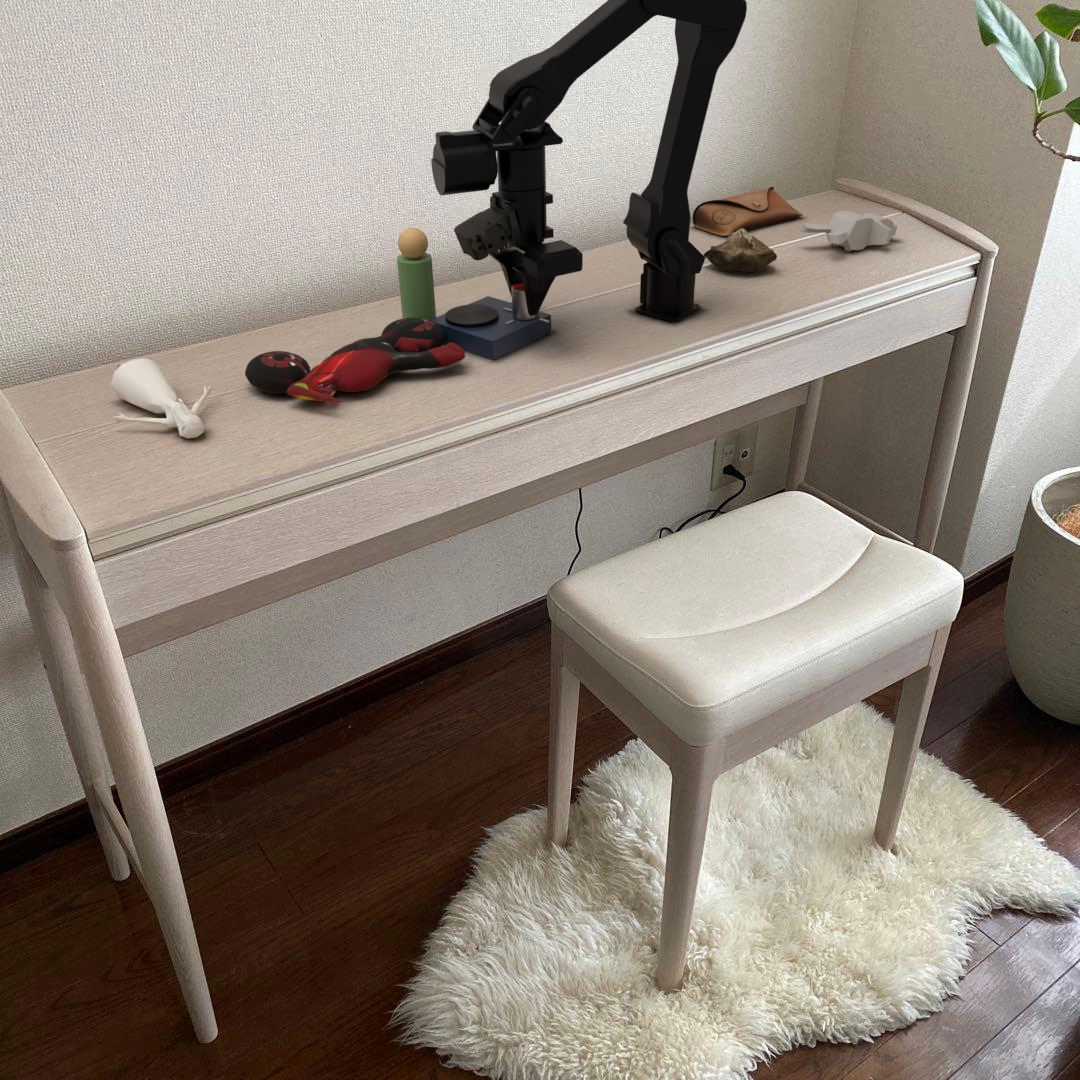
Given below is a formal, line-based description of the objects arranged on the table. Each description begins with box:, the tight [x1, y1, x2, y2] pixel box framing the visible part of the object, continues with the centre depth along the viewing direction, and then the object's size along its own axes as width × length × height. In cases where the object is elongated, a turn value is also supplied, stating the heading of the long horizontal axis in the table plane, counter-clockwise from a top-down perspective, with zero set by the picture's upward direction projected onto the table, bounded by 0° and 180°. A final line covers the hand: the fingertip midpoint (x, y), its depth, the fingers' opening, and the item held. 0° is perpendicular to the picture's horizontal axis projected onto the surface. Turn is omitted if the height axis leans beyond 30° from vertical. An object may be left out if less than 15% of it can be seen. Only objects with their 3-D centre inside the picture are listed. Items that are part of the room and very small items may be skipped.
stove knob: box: [511, 282, 539, 320], centre depth 134 cm, size 3×3×4 cm
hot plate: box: [431, 295, 552, 361], centre depth 136 cm, size 12×12×3 cm
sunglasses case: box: [692, 186, 804, 237], centre depth 174 cm, size 18×7×7 cm
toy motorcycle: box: [244, 317, 467, 403], centre depth 125 cm, size 25×5×16 cm
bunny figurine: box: [799, 210, 898, 252], centre depth 162 cm, size 10×5×15 cm
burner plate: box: [445, 304, 499, 328], centre depth 135 cm, size 7×7×1 cm
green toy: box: [396, 227, 437, 320], centre depth 136 cm, size 4×4×13 cm
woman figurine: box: [110, 357, 212, 440], centre depth 118 cm, size 12×4×18 cm
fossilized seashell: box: [703, 228, 778, 273], centre depth 154 cm, size 8×7×10 cm
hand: (525, 310), depth 135 cm, fingers closed on stove knob, 3 cm apart
